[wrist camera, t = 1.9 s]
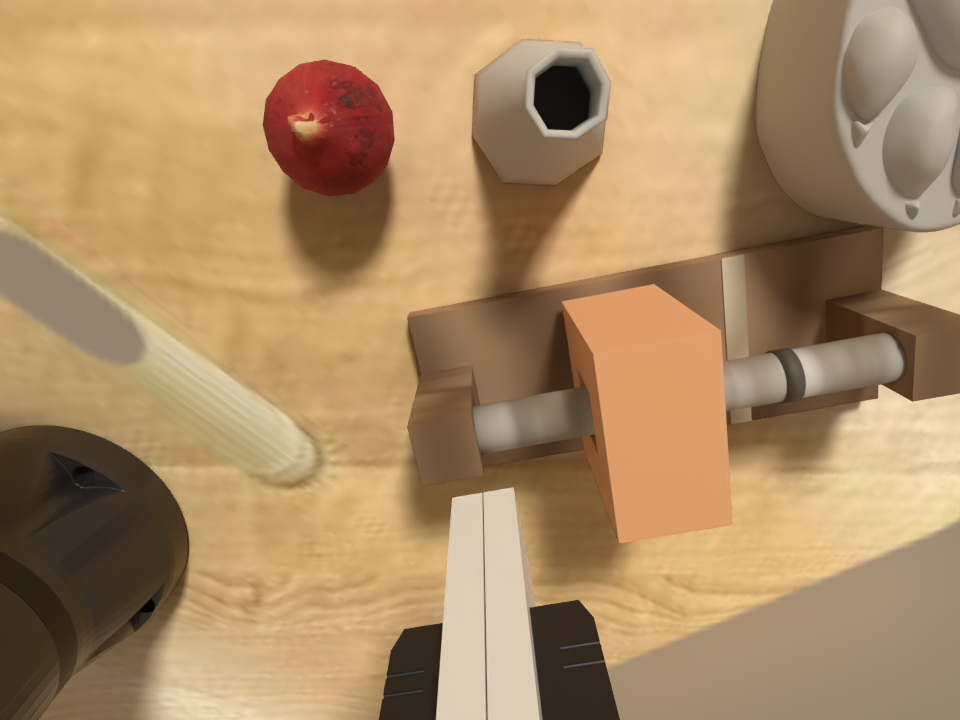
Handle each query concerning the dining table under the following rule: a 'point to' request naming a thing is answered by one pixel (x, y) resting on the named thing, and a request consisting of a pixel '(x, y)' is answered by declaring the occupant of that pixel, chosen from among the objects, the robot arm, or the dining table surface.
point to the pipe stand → (712, 295)
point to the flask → (541, 110)
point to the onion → (329, 127)
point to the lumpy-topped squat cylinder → (864, 109)
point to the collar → (652, 411)
